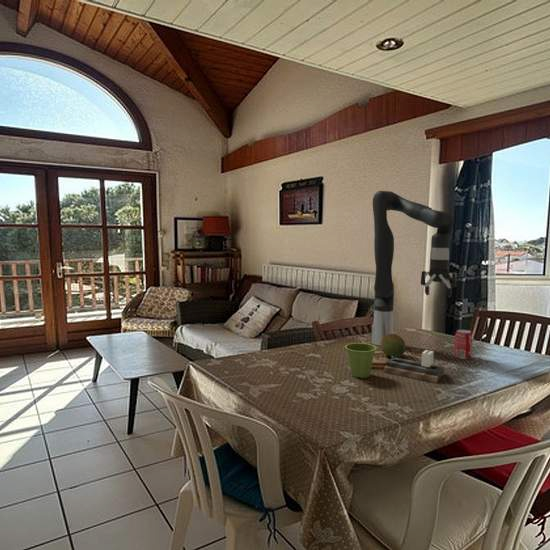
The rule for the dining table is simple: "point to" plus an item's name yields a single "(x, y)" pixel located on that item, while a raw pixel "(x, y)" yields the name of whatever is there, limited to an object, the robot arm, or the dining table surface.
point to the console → (414, 369)
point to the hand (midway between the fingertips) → (437, 295)
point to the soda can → (463, 344)
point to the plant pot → (360, 358)
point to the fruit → (392, 345)
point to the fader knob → (427, 358)
